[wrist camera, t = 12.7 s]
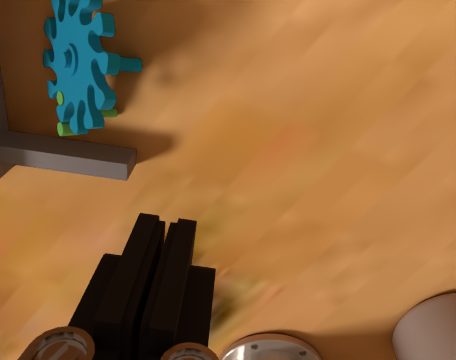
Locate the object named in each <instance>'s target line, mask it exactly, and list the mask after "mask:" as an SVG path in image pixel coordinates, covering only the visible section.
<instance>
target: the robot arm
mask: <svg viewBox="0 0 456 360" xmlns="http://www.w3.org/2000/svg"><path fill="white" fill-rule="evenodd" d="M196 224H197V221H194V220H187V219H180V218H179V219H178V222H177V223H173V222H171V223H170V226H169V229H168V233H167V236H166V239H165V243H164V236H165V221H159V216H158V215H151V214H144V213H140V214H139V216H138V219H137V221H136V223H135V225H134V228H133V230H132V232H131V235H130V237H129V239H128V241H127V244H126V246H125V248H124V251H123V253H122V255H114V254H107V253H106V254H104V255H103V257H102V259H101V260H100V262H99V264H98V266H97V268H96V270H95V272H94V274H93V276H92V278H91V280H90V282H89V284H88V286H87V288H86V290H85V292H84V294H83V296H82V298H81V300H80V302H79V304H78V306H77V308H76V310H75V312H74V314H73V316H72V318H71V320H70V322H69V324H68V326H65V327H57V328H54V329H51V330H48V331H46V332H44V333H43V334H41V335H39V336H38V337H36V338H35V339H34V340H33V341H32V342H31V343H30V344H29V345H28V347H27V348H26V349H25V351H24V352H23V353H22V354H21V356H20V357H19V358H18V360H322V359H321V357H320V356H319V354H318V352H317V351H316V350H315V349H314V348H313V347H312V346H310V345H309V344H307V343H306V342H304V341H302V340H300V339H297V338H295V337H291V336H288V335H282V334H258V335H253V336H249V337H246V338H243V339H241V340H239V341H237V342H235V343H233V344H232V345H230V346H229V347H228V348H227V349H226V350H225V351H224V352H223V354H222V355H221V357H220V359H219V358H218V357H217V355H216V354H215V353H214V352H213V351H212V350H210V349H209V348H208V340H209V330H210V320H211V310H212V301H213V291H214V281H215V271H216V269H215V268H207V267H200V266H193V265H191V264H192V256H193V248H194V240H195V232H196Z"/></svg>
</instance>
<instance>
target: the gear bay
mask: <svg viewBox="0 0 456 360" xmlns="http://www.w3.org/2000/svg"><path fill="white" fill-rule="evenodd" d="M14 165H21V166H28V167H35V168H42V169H49V170H56V171H63V172H69V173H76V174H83V175H90V176H97V177H104V178H111V179H118V180H125V181H127V179H128V178H129V176H130V174H131V172H132V170H133V169H134V167H135V165H136V149H131V148H125V147H118V146H111V145H104V144H97V143H90V142H84V141H77V140H70V139H63V138H56V137H50V136H43V135H36V134H29V133H22V132H15V131H9V127H8V120H7V112H6V105H5V98H4V91H3V83H2V76H1V69H0V178H1V177H2V176H3V175H5V174H6V173H7V172H8V171H9V170H10V169H11V168H13V167H14Z"/></svg>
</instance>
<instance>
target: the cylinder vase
mask: <svg viewBox="0 0 456 360" xmlns="http://www.w3.org/2000/svg"><path fill="white" fill-rule="evenodd" d="M392 345H393V350H394V353H395V356H396V358H397V360H456V293H450V294H444V295H440V296H436V297H433V298H431V299H428V300H426V301H424V302H422V303H420V304H418V305H416V306H415V307H413V308H412V309H411V310H409V311H408V312H407V313H406V314H405V315H404V316H403V317H402V318H401V319H400V321H399V322H398V324H397V325H396V327H395V330H394V333H393V337H392Z"/></svg>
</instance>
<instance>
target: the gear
mask: <svg viewBox="0 0 456 360" xmlns="http://www.w3.org/2000/svg"><path fill="white" fill-rule="evenodd" d="M102 1H103V0H51V2H52V8H53V10H54V13H55V17H56V18H49V17H47V19H46V21H45V24H44V32H45V35H46V36H48V38H49V39H50V41H51V43H52V46H53V50H47V49H44V52H43V65H44V67H50V68H52V69H53V70H54V72H55V73H56V75H57V81H48V82H47V87H48V94H49V97H50V98H57V101H58V104H59V105H58V106H57V109H56V111H57V115H58V118H59V120H60V122H59V123H58V125H57V130H58V134H59V135H60V136H70V135H79V134H87V133H88V131H89V129H98V128H102V127H104V118H103V117H117V114H118V112H117V109H116V108H113V106H114V104H115V102H116V100H117V98H116V94H115V92H114V91H113V90H112V89H111V88H110V87H109V85H108V84H107V82H106V79H105V75H118V73H119V71H126V72H140V71H141V70H142V61H141V60H140V59H138V58H127V57H120V55H119V54H117V53H109V52H106V51H105V50H104V49H103V48H102V46H101V44H100V36H107V37H113V36H114V34H115V23H114V18H113V15H112V14H107V13H101V12H98V13H96V15H95V17H94V19H93V20H91V17H92V13H93V11H94V10H98V9H100V8H101V6H102Z"/></svg>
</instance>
